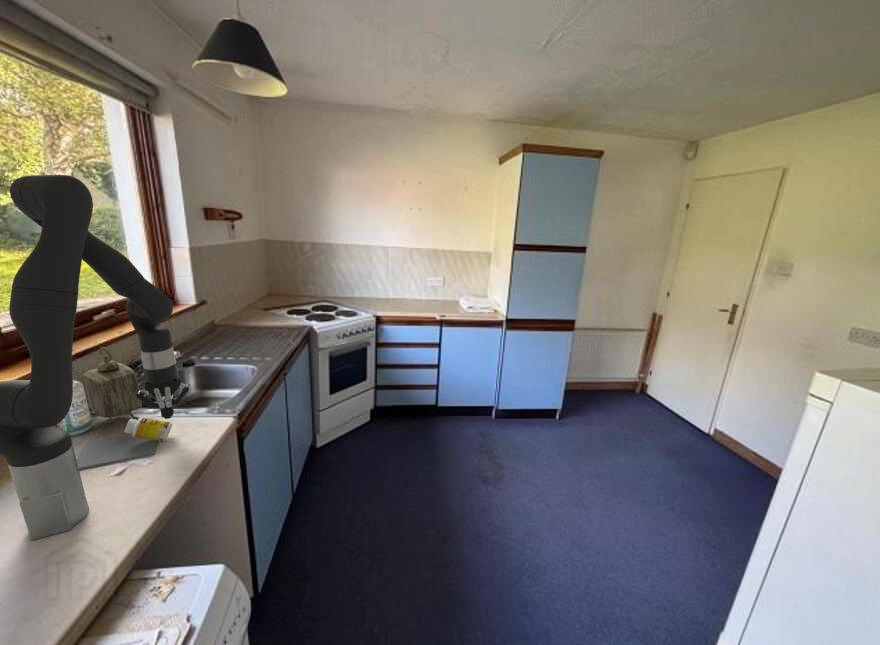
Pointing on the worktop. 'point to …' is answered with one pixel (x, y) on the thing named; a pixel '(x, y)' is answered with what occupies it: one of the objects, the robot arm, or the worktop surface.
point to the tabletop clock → (111, 389)
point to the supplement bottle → (149, 429)
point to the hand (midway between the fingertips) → (168, 417)
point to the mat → (115, 450)
